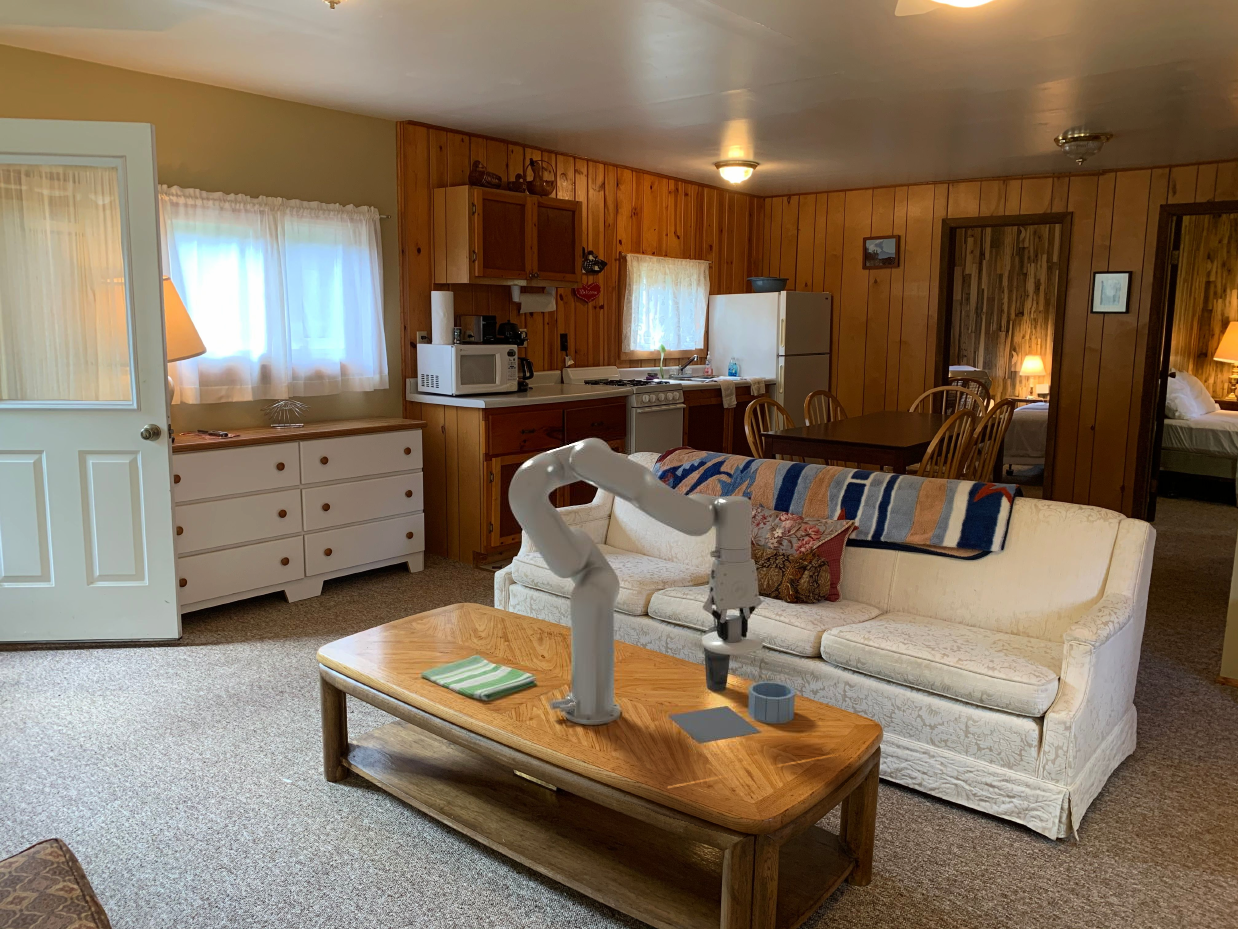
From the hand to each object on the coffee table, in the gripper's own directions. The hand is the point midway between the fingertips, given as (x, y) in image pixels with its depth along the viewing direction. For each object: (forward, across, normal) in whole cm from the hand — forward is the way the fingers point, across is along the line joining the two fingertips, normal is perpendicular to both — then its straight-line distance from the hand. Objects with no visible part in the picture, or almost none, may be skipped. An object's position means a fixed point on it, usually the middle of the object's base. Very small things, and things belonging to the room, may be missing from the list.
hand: (732, 636), depth 201 cm
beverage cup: (+20, +6, +19) cm, 28 cm away
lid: (+2, 0, 0) cm, 2 cm away
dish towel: (+19, -46, +43) cm, 66 cm away
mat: (+20, -4, 0) cm, 20 cm away
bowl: (+20, +10, +1) cm, 22 cm away
